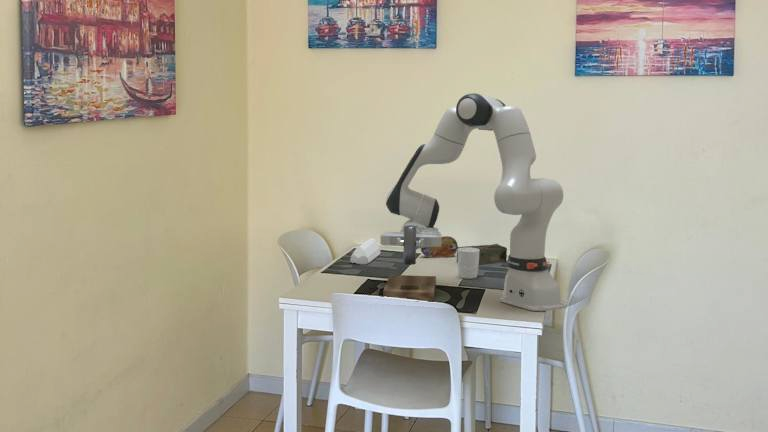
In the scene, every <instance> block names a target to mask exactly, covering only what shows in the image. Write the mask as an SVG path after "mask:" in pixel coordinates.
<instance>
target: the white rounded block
mask: <svg viewBox="0 0 768 432" xmlns="http://www.w3.org/2000/svg"><path fill="white" fill-rule="evenodd" d="M380 255H381V248H380V246H379V244H378V243H377V241H376V239H375V238H373V237H371V238H369V239H368V240H366V241H365V242H363V243H362V244H361V245H359V246H358V247H357V248H355V249H354V251H353V252H352V254H351V255H350V263H352V264H353V263H356V264H355V265H367V264H370V263H371V262H372V261H373V260H375V259H376V258H377V257H378V256H380Z"/></svg>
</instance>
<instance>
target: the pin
mask: <svg viewBox="0 0 768 432" xmlns="http://www.w3.org/2000/svg"><path fill="white" fill-rule="evenodd" d="M416 259H417V249H416V226H404V246H403V261H402V262H403V265H408V266H409V265H416V263H417V261H416Z"/></svg>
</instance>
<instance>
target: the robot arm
mask: <svg viewBox="0 0 768 432" xmlns="http://www.w3.org/2000/svg"><path fill="white" fill-rule="evenodd" d="M476 129H478V130H479V131H480V130H481V131H493V133H494V137H495V141H496V144H497V147H498V151H499V157H500V161H501V167H502V173H501V180H500V183H499V185H498V186H497V187H496V189H495V191H494V195H493V196H494V197H493V199H494V204H495V207H496V209H497V210H498V211H499V212H501V213H502V214H505V215H510V216H520V219H519V220H518V222H517V224H516V225H515V226H514V227H513V228H512V230H511V231H510V238H509V255H508V256H507V257H508V259H507V267H508V270H507V273H506V274H505V278H504V285H503V294H502V296H501V297H500V298H499V302H500V303H501V302H502V303H504V304H507V305H511V306H514V307H517V308H521V309H525V310H528V311H533V312H548V311H555V310H556V311H557V310H563V309H566V308H568V307H569V303H567V302H566V301H564V300H563V299H561V296H562V295H561V293H562V292H561V288H560V284H559V283H558V282H557V281H556V280H555V279H554V277H553V276H552V275H551V273H550V271H549V270H548V269H549V268H548V267H549V266H550V264H549V263H550V261H547V258H546V256H545V254H546V252H545V251H546V240H547V239H546V238H547V237H546V236H547V232H548V227H549V224H550V222H551V219H552V216H553V215H554V213H555V211H556V210H557V209H558V208H559V207H560V205H561V204H562V203H563V200H564V190H563V188H562V186H561V184H560V183H559V182H558V181H557V180H553V179H551V178H545V177H541V178H531V167H532V166H533V164H534V163H535V161H536V159H537V154H536V150H535V145H534V142H533V139H532V134H531V132H530V127H529V125H528V122H527V120H526V118H525V116H524V114H523V111H522V110H521V108H519V107H518V106H516V105H512V104H510V105H506V104H505V103H503V102H502V100H500V99H497V98H494V97H492V96H490V95H486V94H480V93H475V92H473V93H468V94H465V95H463V96H462V97H461V98H460V99H459V100H458V101H457V103H456V106H455V105H454V106H453V105H452V106H449V107H448V108H447V109H446V110H445V112H444V113H443V115H442V116H441V119H440V120H439V122H438V124H437V126H436V129H435V131H434V133H433V136H432V137H431V139H430V140H429V141H428V142H427V143H425V144H421V145H420V146H419V147H417V149H416V151H415V152H414V154H413V156H412V157H411V158H410V160H409V161H408V163H407V165H406V166H405V168H404V170H403V172H402V173H401V174H400V177H399V178H398V181H397V183H396V184H395V185H394V186H393V187H392V188H391V190H390V191H389V193H388V194H387V197H386V201H385V206H386V208H387V209H388V211H389V212H390V214H393V215H397V216H401V217H403V218H407V219H408V220H406V222H404V223H403V226H402V227H401V230H400V231H383V232H382V233H381V234H380V239H379V240H380V245H382V246H392V247H395V246H396V247H404V226H416V250H418V249H420V250H421V248H425V247H426V248H427V247H441V244H442V237H443V235H442V234H441V232H440V231H439V228H438V227H435V224H436V222H437V220H438V217H439V212H440V204H439V202H438V199H437V198H434V197H432V196H429V195H428V194H424V193H422V192H421V193H420V192H419V191H416V190H414V189H411V188H410V187H409V185H410V184H411V182H412V180H413V178H414V176H415V175H416V173H417V172H418V170H419V169H420V168H421V167H423V166H426V165H445V164H450V163H454V162H455V161H457V160H458V159H459V157H460V156H461V154H462V153H463V151H464V149H465V146H466V143H467V141H468V137H469V136H470V133H472V132H473V130H476Z"/></svg>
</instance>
